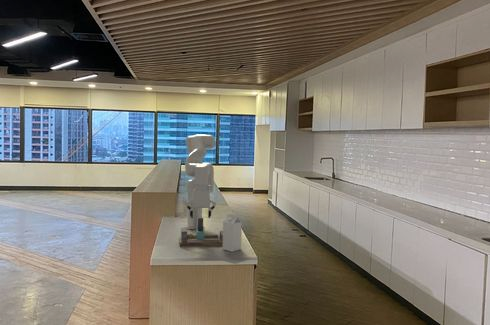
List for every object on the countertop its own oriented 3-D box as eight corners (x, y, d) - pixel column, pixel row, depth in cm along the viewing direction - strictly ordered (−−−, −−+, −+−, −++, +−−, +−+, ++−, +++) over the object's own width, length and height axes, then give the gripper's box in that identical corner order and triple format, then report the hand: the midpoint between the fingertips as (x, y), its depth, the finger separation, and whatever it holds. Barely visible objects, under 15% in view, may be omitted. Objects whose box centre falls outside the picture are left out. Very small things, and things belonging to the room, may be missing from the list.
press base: (179, 241, 252) (179, 227, 251) (222, 240, 256) (223, 226, 255) (179, 246, 240) (179, 231, 240) (225, 245, 244) (225, 231, 244)
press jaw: (196, 237, 251) (196, 217, 250) (203, 237, 251) (203, 217, 251) (197, 240, 244) (197, 219, 243) (204, 240, 245) (204, 219, 244)
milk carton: (231, 247, 242) (231, 212, 240) (241, 249, 237) (242, 214, 236) (222, 249, 236) (223, 214, 235) (232, 252, 232) (233, 216, 231)
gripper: (216, 186, 251) (215, 216, 253) (185, 186, 248) (184, 216, 250) (217, 188, 244) (216, 219, 245) (185, 188, 241) (185, 219, 243)
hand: (200, 217), depth 248 cm, fingers open, 9 cm apart
